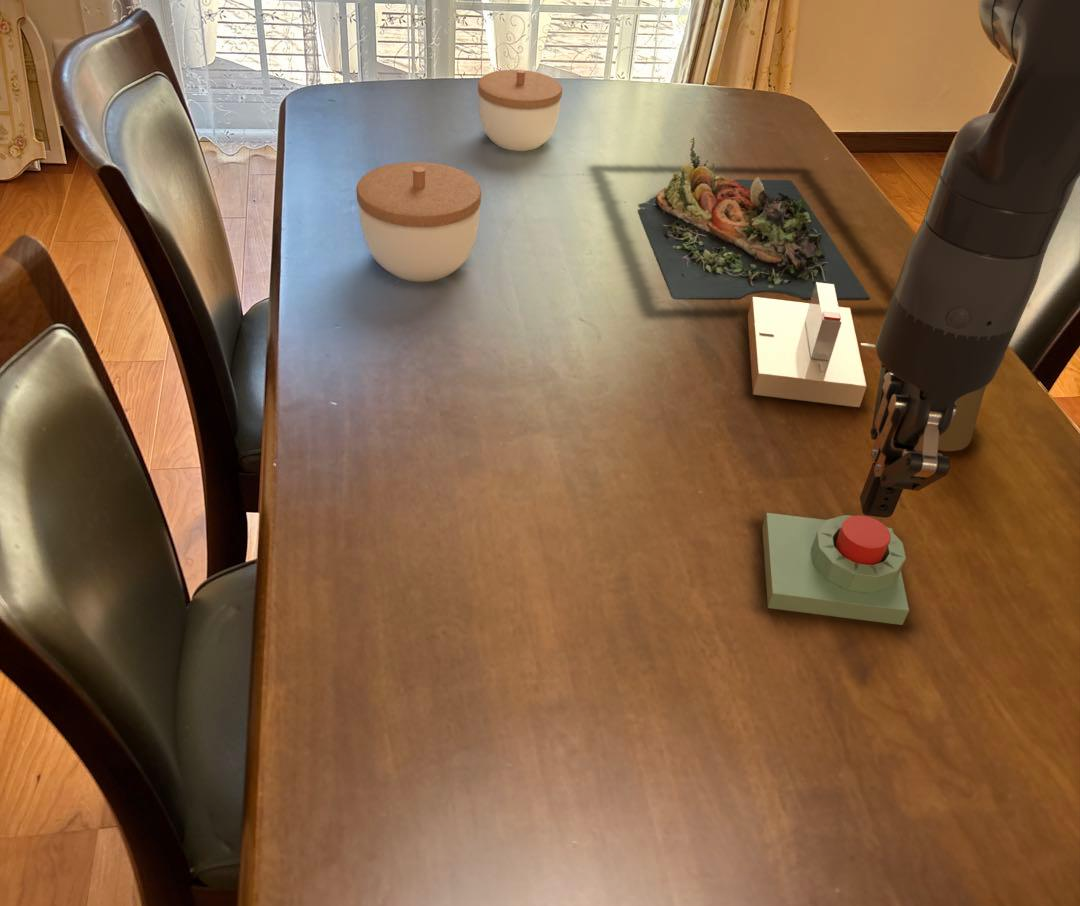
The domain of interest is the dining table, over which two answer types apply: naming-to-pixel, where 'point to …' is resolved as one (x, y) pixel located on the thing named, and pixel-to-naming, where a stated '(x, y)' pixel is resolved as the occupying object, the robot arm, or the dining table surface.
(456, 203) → the lidded bowl
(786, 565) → the button box
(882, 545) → the button
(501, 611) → the dining table surface
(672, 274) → the plated dish
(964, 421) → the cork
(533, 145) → the trinket box
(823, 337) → the white switch lever
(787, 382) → the switch base
